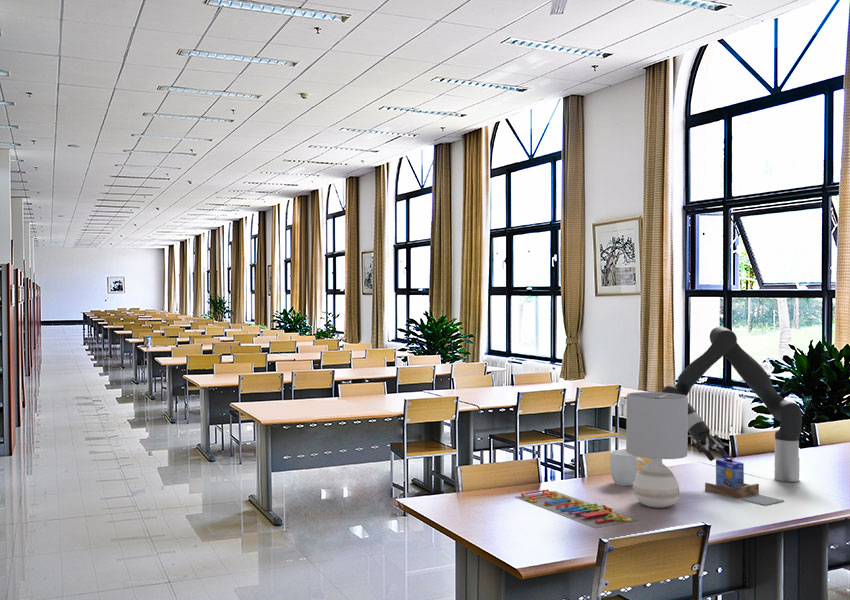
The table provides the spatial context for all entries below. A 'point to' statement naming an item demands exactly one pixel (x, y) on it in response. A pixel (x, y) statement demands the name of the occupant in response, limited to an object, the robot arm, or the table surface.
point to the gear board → (575, 509)
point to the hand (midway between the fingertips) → (719, 458)
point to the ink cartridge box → (729, 473)
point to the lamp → (656, 443)
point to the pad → (762, 500)
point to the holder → (734, 490)
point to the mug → (623, 467)
